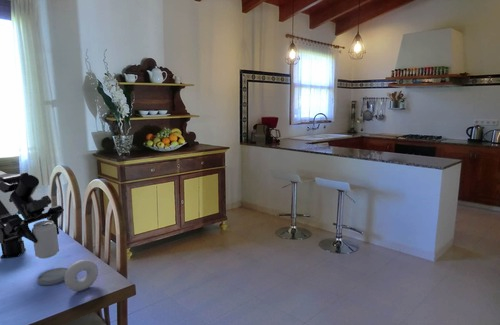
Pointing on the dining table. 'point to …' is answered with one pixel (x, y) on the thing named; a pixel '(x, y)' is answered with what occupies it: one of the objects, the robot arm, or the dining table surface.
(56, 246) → the can
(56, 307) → the dining table surface
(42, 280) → the dish
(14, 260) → the dining table surface
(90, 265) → the donut
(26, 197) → the robot arm
